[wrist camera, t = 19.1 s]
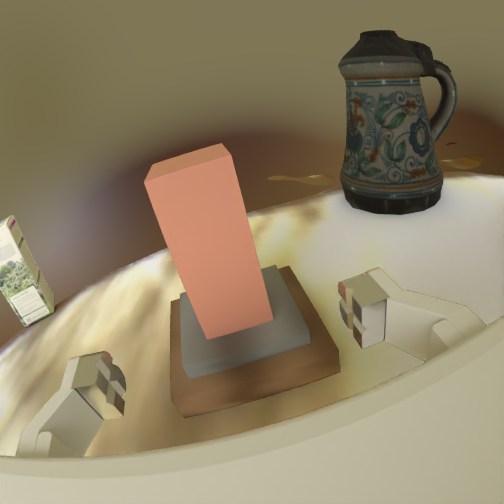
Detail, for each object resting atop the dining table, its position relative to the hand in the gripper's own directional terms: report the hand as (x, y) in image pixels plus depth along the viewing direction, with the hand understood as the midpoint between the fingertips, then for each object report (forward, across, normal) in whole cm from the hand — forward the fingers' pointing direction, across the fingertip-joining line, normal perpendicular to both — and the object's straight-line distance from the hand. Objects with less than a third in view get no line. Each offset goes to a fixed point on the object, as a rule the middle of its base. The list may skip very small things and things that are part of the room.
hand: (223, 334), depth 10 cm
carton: (+12, 0, +8) cm, 15 cm away
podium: (+12, 0, +12) cm, 17 cm away
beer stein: (+33, -29, +13) cm, 45 cm away
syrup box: (+29, +29, +13) cm, 43 cm away
